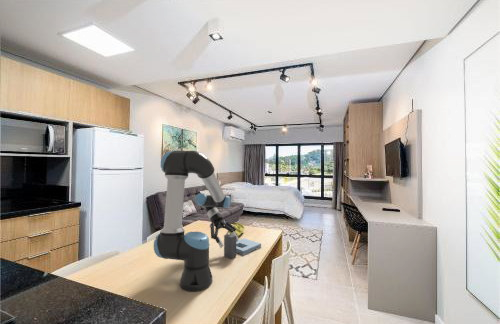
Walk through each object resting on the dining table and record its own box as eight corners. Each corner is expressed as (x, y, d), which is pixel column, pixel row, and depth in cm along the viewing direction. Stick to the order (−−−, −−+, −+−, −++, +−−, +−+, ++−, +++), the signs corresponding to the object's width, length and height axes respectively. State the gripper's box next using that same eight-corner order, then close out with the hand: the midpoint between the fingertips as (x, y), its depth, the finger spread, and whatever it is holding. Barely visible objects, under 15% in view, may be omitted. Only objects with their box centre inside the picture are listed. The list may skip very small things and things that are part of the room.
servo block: (231, 258, 132) (231, 235, 133) (224, 256, 137) (224, 233, 137) (236, 256, 136) (236, 234, 136) (229, 253, 140) (229, 232, 140)
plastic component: (238, 236, 168) (227, 229, 171) (234, 243, 170) (223, 237, 172) (246, 227, 187) (236, 221, 190) (242, 234, 188) (232, 228, 191)
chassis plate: (243, 255, 138) (243, 251, 138) (226, 248, 149) (226, 244, 149) (261, 247, 152) (261, 243, 152) (244, 241, 162) (244, 238, 162)
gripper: (225, 216, 158) (240, 241, 149) (197, 222, 140) (211, 252, 130) (230, 209, 155) (246, 235, 145) (202, 216, 136) (217, 246, 126)
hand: (230, 243), depth 137 cm, fingers open, 13 cm apart
